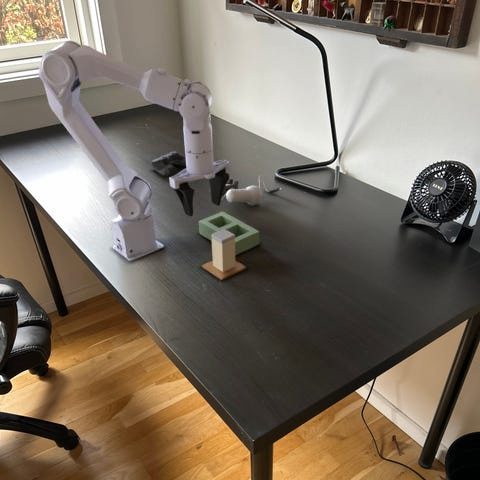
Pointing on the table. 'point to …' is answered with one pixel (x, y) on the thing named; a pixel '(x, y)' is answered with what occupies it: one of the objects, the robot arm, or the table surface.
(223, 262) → the cream rectangular block
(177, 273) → the table surface
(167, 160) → the gaming controller
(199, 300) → the table surface
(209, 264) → the cork pad
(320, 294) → the table surface
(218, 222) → the holder
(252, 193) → the clip-on lamp
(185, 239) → the table surface
